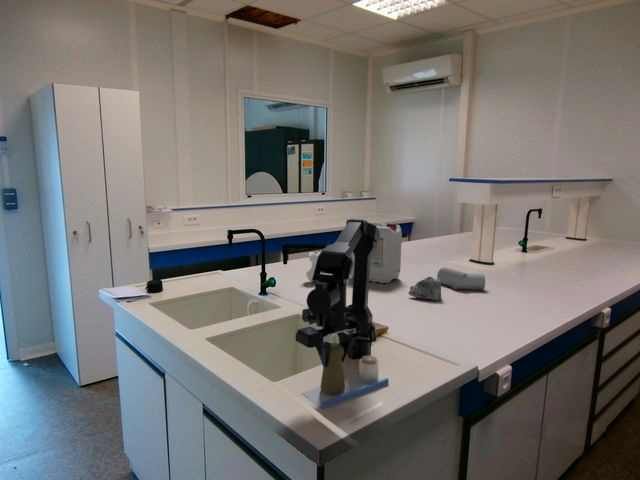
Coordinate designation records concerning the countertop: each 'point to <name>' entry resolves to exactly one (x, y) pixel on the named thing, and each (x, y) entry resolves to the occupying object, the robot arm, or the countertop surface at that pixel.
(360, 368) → the ceramic jar
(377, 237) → the robot arm
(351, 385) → the shelf
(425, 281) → the mineral rock
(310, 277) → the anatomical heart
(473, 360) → the countertop surface
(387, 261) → the jerry can
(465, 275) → the bent grey cylinder
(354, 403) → the countertop surface
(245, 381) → the countertop surface
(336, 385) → the olive waisted cylinder
